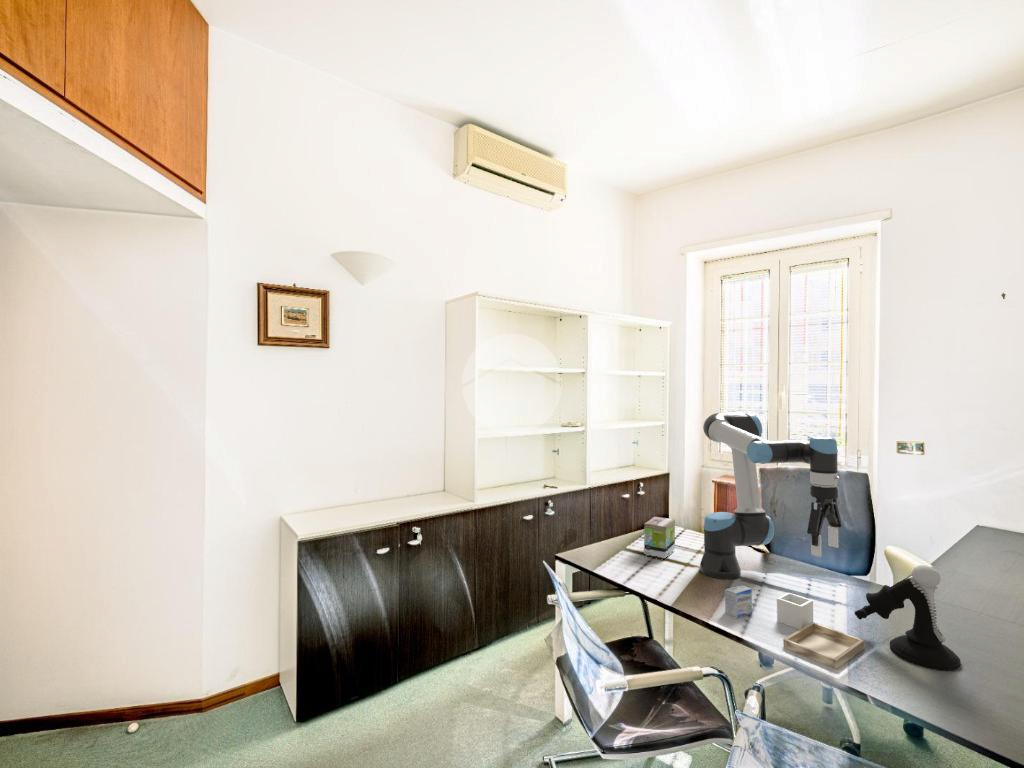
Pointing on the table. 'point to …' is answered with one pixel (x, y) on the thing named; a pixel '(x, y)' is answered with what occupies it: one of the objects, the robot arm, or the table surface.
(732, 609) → the medicine box
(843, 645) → the birch tray
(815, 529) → the robot arm
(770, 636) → the table surface
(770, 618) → the table surface
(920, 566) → the sculpture
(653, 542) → the tea box
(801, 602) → the pen cup
